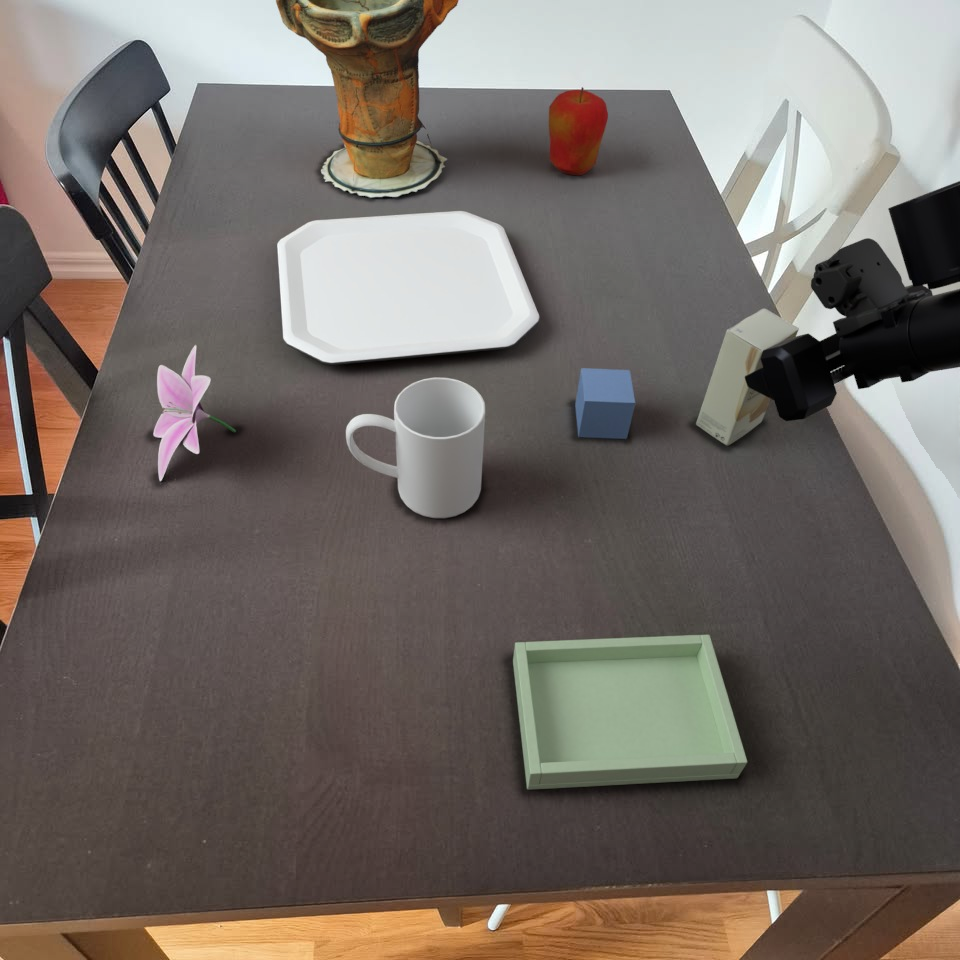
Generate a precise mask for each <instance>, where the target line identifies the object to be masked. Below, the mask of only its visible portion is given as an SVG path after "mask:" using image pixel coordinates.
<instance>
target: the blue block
mask: <svg viewBox="0 0 960 960" xmlns="http://www.w3.org/2000/svg"><path fill="white" fill-rule="evenodd" d="M574 405H575V416H576V428H577V429H576V430H577V436H578V438H587V439H588V438H591V439H615V440H618V439H619V440H627V439H628V435H629V431H630V428H631V423H632V419H633V415H634V410H635V406H636V398H635V392H634V385H633V380H632V374H631V370H630V369H612V368H587V367H581V368H580V374H579V379H578V385H577V391H576V398H575V404H574Z"/></svg>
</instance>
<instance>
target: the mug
mask: <svg viewBox="0 0 960 960" xmlns="http://www.w3.org/2000/svg"><path fill="white" fill-rule="evenodd" d="M393 417H394V419H393V418H390V417H388V416H385V415H382V414H381V415H380V414H376V413H375V414H373V413H362V414H359V415H356V416H354V417H353V418H352V419H350V421H349V422H348V424H347V425H346V428H345V439H346V445H347V447H348V450H349V452H350V453H351V455H352V456H353V457H354V459H355V460H357V461H358V462H359V463H360V464H361V465H363V466H365V467H366V468H368V469H370V470H372V471H374V472H377V473H379V474H381V475H384V476H388V477H392V478H396V479H397V490H398V494H399V497H400V499H401V501H402V502H403V503H404V504H405V506H406V507H407V508H408V509H410V510H411V511H412V512H414V513H416V514H418V515H420V516H422V517H426V518H431V519H448V518H453V517H457V516H459V515H461V514H463V513H465V512H466V511H468V510H470V508H472V507H473V506H474V504H475V503H476V502H477V500H479V497H480V494H481V490H482V476H483V461H484V459H483V458H484V444H485V442H484V441H485V427H486V426H485V423H486V403H485V400H484V398H483V396H482V395H481V394H480V392H479V391H478V390H477V389H476V388H474V387H473V386H471V385H470V384H469V383H466V382H463V381H461V380H459V379H456V378H450V377H428V378H423V379H421V380H418V381H414V382H412V383H410V384H409V385H407V386H406V387H404V388H403V389H402V390H401V391H400V392H399V394H398V395H397V396H396V398H395V401H394V407H393ZM364 427H378V428H381V429H385V430H388V431H390V432H393V433H394V434H395V435H394V436H395V437H394V438H395V451H396V452H395V454H396V455H395V456H396V465H393V464H390V463H389V464H388V463H386V462H382V461H380V460H378V459H375V458H373V457H372V456H370V455H368V454H366V453H365V452H364V451H362V450H361V448H359V447H358V445H357V444H356V441H355V439H354V433H355V432H356V431H357V430H358V429H360V428H364Z"/></svg>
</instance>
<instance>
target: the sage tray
mask: <svg viewBox="0 0 960 960" xmlns="http://www.w3.org/2000/svg"><path fill="white" fill-rule="evenodd" d="M512 666H513V675H514V683H515V693H516V702H517V711H518V719H519V720H518V721H519V729H520V730H519V731H520V738H521V747H522V755H523V764H524V765H523V766H524V775H525V784H526V789H527V790H529V791H530V790H549V789H566V788H568V789H569V788H582V787H584V788H585V787H586V788H587V787H601V786H602V787H603V786H622V785H637V784H641V785H642V784H656V783H675V782H694V781H696V782H697V781H713V780H714V781H715V780H729V779H731V780H733V779H738V778H739V776H740V775H741V773H742V772H743V770H744V768H745V767H746V765H747V764H748V759H747V756H746V752H745V749H744V746H743V742H742V738H741V736H740V731H739V729H738V725H737V721H736V719H735V715H734V712H733V709H732V705H731V702H730V699H729V695H728V691H727V689H726V686H725V682H724V679H723V675H722V672H721V667H720V664H719V662H718V658H717V655H716V651H715V647H714V645H713V642H712V639H711V635H710V634H688V635H686V634H685V635H663V636H638V637H615V638H614V637H613V638H590V639H588V638H587V639H566V640H563V639H561V640H541V641H539V640H538V641H517V642H515V643H514V649H513V656H512Z"/></svg>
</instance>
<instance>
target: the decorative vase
mask: <svg viewBox="0 0 960 960" xmlns="http://www.w3.org/2000/svg"><path fill="white" fill-rule="evenodd" d="M275 3H276V6H277V9H278V12H279V15H280V18H281V21H282V23H283V25H284V26H285V27H286V28H287V29H288V30H290V31H291V32H293V33H295V35H297V36H299V37H301V38H304V39H306V40H307V41H308V42H309V43H310V44H311V45H312V46H313V47H315V48H316V50H317V51H319V52H320V53H322V54H323V55H324V56H325V61H326V64H327V66H328V68H329V70H330V73H331V76H332V80H333V86H334V91H335V93H336V99H337V109H338V118H339V123H338V129H337V130H338V133H339V135H340V137H341V140H342V142H343V146H344V147H343V148H340V149H338V150H334V151H333V153H332V155H331V156H330V157H328V158H327V159H326V161H325V162H323V165H322V168H321V169H320V172H321V175H323V179H324V183H325V182H326V183H327V182H331V183H332V185H334V188H339V189H340V190H342V191H343V192H346V191H348V192H349V194H357V195H358V196H361V197H362V196H363V197H364V196H365V197H368V198H370V199H371V198H383V197H390V198H391V197H392V198H398V197H400V196H402V195H406V194H409V193H411V192H415V193H417V192H418V190H422V189H426V187H427V186H428V185H429V184H430V183H431V182H432V181H435V180H436V179H438V178H439V176H440V174H441V173H442V172H443V171H442V169H443V168H445V167H446V165H444V163H445V162H446V161H448V160H449V159H448V158H446V156H445V157H444V156H443V155H440V154H439V151H438V149H435V148H431V146H432V142H431V139H430V136H429V134H428V133H427V134H426V137H427V139H428V140H429V143H430V145H429V144H428V145H427V144H424V143H423V142H421V141H419V140H418V133H419V132H420V131H421V129H423V128H424V130H427V128H426V127H425V125H424V124H423V122H422V121H421V119H420V118H419V113H420V81H419V79H420V73H419V62H420V57H419V51H420V49H421V48H422V46H423V45H424V44H425V42H426V41H427V40H428V39H429V37H431V35H432V34H433V33H434V32H435V30H436V29H437V28H438V27H440V26H441V25H442V24H443V23H444V21H445V20H446V18H447V16H448V15H449V13H450V12H451V11H452V10H454V9H455V8H456V7H457V6H458V4H459V0H275Z"/></svg>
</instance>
